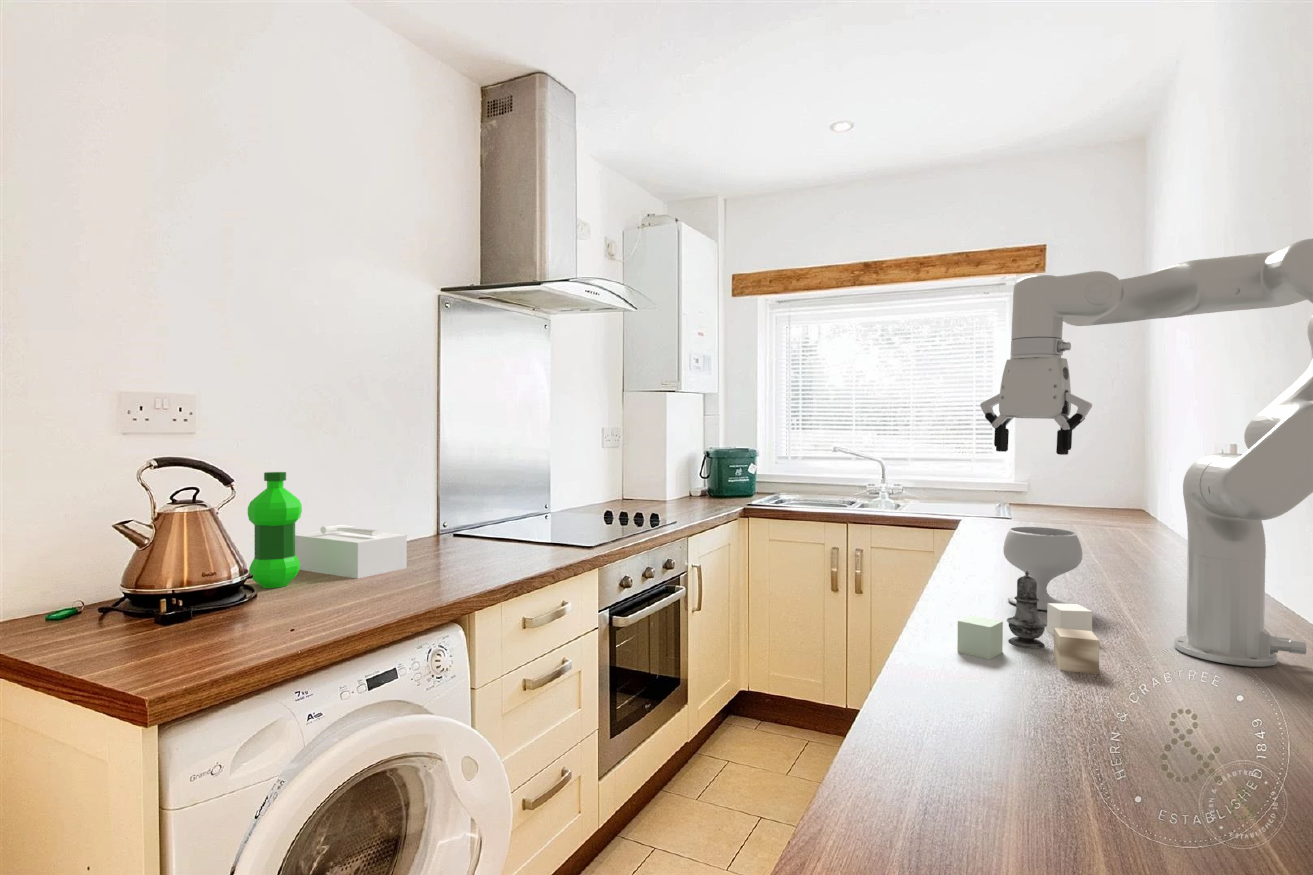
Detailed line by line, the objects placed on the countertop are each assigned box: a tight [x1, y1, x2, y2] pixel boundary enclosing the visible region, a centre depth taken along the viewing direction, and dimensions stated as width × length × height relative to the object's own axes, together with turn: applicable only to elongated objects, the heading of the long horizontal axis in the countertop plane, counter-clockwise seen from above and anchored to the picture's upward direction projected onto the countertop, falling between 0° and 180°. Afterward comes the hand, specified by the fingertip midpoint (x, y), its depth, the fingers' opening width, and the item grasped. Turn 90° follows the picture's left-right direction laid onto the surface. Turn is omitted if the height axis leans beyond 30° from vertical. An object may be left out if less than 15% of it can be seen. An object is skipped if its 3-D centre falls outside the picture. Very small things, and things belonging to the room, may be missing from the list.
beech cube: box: [1053, 628, 1100, 675], centre depth 104 cm, size 5×5×5 cm
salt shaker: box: [1006, 571, 1047, 649], centre depth 115 cm, size 6×6×12 cm
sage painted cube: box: [956, 614, 1004, 660], centre depth 111 cm, size 5×5×5 cm
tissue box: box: [295, 524, 408, 580], centre depth 175 cm, size 14×25×11 cm, turn 62°
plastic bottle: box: [247, 471, 303, 589], centre depth 155 cm, size 10×10×25 cm
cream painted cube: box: [1046, 603, 1093, 636], centre depth 120 cm, size 5×5×5 cm
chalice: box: [1003, 526, 1083, 611], centre depth 142 cm, size 14×14×15 cm
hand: (1031, 452), depth 118 cm, fingers open, 9 cm apart
